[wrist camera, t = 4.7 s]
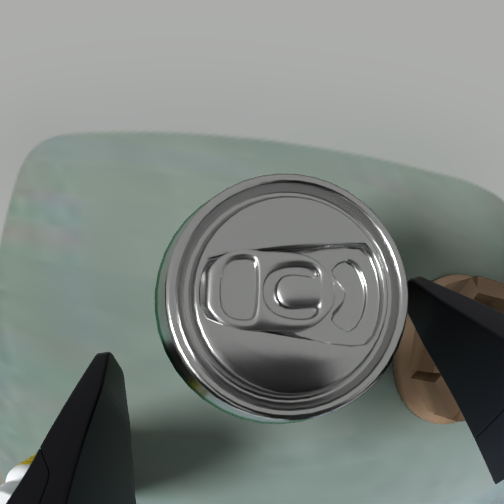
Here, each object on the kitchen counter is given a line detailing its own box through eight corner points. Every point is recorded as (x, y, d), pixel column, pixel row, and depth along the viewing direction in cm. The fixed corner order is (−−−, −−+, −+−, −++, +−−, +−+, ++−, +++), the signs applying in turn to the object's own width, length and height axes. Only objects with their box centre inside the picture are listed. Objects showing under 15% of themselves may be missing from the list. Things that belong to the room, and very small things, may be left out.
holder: (508, 354, 18) (539, 353, 14) (429, 448, 16) (460, 462, 12) (459, 249, 19) (491, 236, 16) (364, 339, 17) (395, 340, 14)
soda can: (289, 365, 16) (420, 424, 5) (194, 362, 16) (137, 434, 4) (291, 273, 18) (412, 173, 6) (199, 268, 17) (160, 146, 5)
